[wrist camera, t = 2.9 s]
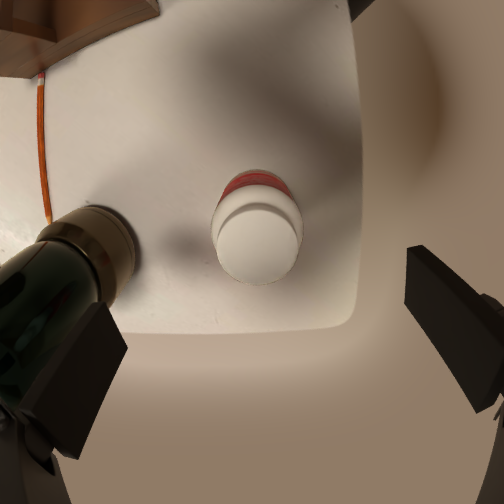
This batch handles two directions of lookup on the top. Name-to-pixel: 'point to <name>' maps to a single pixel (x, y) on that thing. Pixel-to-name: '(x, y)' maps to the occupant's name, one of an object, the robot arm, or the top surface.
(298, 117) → the top surface
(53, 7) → the shelf
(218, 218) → the pill bottle
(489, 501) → the robot arm
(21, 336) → the lamp
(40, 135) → the pencil
